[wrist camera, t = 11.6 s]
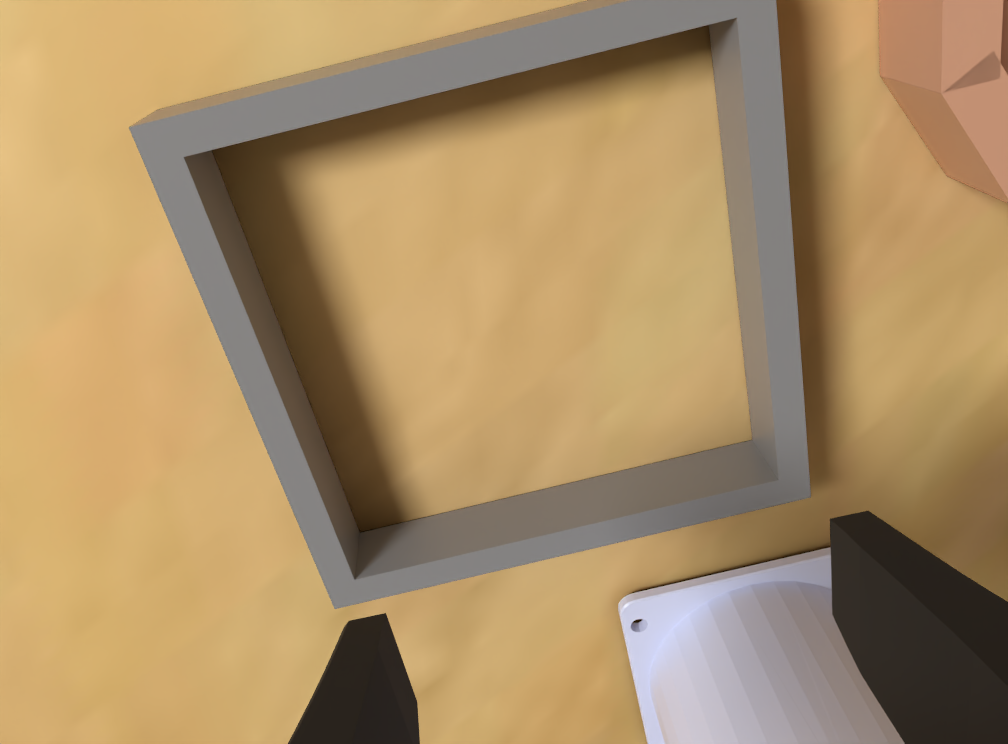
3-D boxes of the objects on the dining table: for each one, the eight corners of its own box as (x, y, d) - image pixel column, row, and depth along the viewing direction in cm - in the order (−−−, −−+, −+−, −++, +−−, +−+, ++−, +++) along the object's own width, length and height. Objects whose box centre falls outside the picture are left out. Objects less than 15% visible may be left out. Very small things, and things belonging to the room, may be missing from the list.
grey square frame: (782, 456, 24) (811, 497, 22) (341, 560, 24) (334, 609, 23) (739, -39, 18) (773, -37, 16) (157, 109, 18) (128, 127, 17)
